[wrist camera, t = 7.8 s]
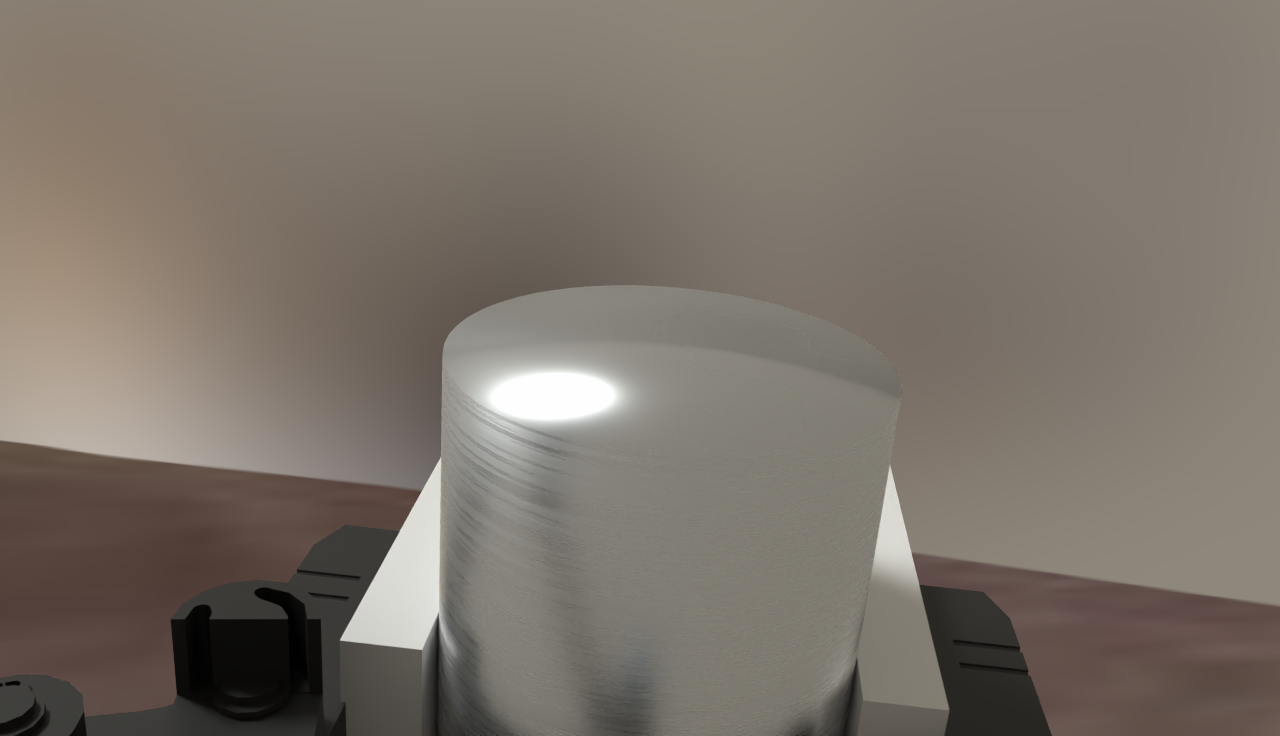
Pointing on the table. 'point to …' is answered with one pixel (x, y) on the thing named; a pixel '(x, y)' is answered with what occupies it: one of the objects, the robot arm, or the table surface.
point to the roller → (656, 515)
